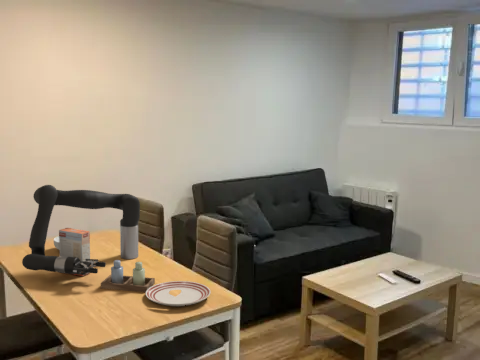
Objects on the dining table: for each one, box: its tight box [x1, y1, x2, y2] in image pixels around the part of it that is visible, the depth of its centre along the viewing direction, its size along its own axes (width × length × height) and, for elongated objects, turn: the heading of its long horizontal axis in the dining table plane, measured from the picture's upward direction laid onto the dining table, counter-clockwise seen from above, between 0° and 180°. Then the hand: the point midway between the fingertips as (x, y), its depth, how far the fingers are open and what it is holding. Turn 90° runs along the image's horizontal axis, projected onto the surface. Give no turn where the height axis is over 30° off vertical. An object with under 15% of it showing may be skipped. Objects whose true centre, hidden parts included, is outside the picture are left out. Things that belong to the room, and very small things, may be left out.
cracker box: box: [58, 227, 91, 277], centre depth 241 cm, size 14×6×21 cm, turn 65°
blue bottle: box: [110, 259, 124, 284], centre depth 226 cm, size 5×5×11 cm
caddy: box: [100, 274, 156, 293], centre depth 226 cm, size 11×21×3 cm, turn 81°
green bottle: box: [132, 261, 146, 286], centre depth 225 cm, size 5×5×11 cm
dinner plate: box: [145, 280, 212, 307], centre depth 216 cm, size 28×27×3 cm
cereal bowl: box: [53, 235, 60, 251], centre depth 276 cm, size 17×17×7 cm
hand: (101, 267), depth 227 cm, fingers open, 8 cm apart
